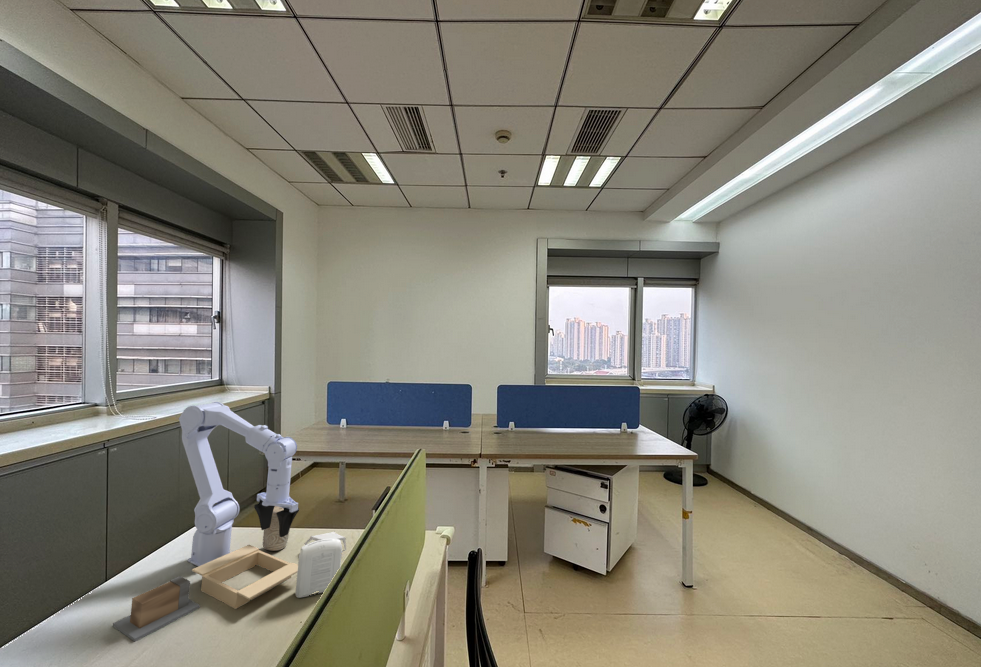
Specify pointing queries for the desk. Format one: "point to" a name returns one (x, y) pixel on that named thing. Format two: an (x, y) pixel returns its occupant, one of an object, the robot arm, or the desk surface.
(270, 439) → the robot arm
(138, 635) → the mat
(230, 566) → the carton
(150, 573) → the desk surface
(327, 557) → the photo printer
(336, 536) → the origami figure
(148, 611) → the walnut box
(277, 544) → the carving
